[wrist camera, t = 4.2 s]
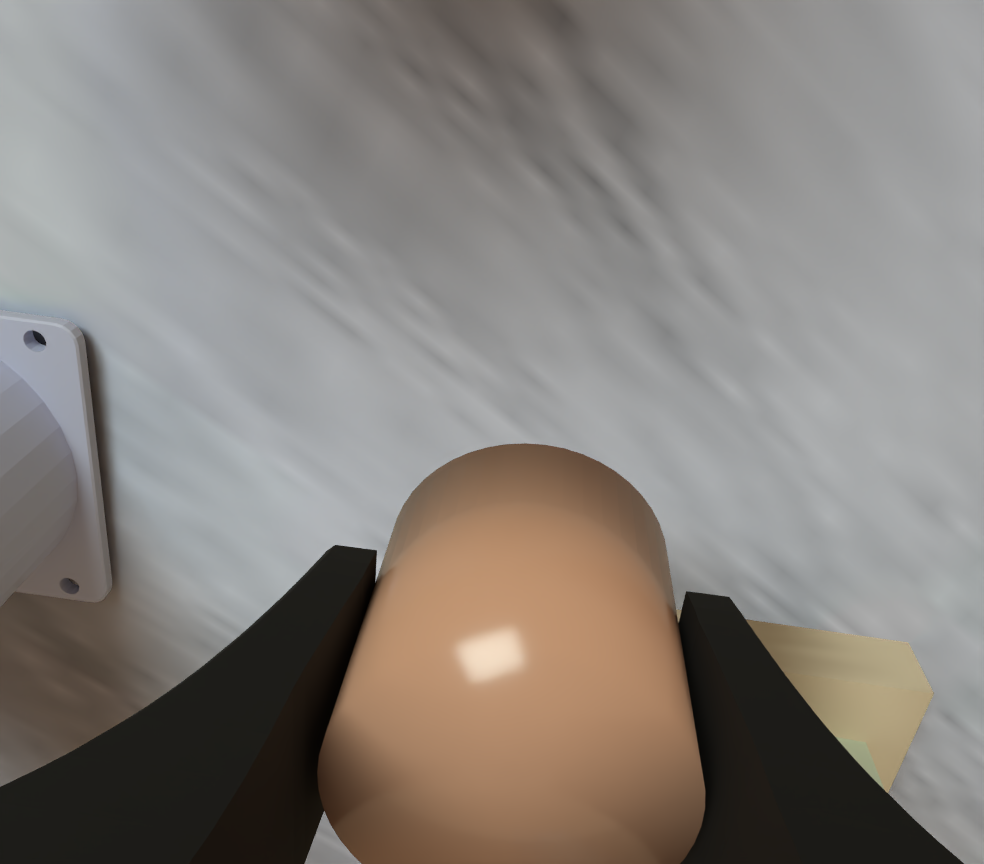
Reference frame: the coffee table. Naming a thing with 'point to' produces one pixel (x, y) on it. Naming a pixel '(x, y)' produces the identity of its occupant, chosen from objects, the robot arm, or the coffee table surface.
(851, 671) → the maple slab
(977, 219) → the coffee table surface
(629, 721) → the peach domed cylinder
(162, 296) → the coffee table surface
